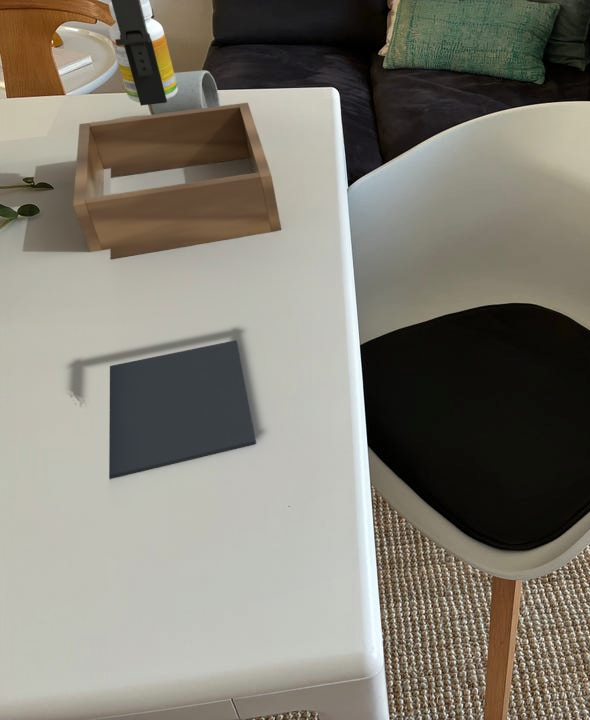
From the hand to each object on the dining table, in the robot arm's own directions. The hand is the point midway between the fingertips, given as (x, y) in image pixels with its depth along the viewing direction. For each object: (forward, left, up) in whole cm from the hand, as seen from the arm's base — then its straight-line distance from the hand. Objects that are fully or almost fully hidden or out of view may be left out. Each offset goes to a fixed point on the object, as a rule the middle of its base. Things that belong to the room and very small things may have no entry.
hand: (152, 91), depth 86 cm
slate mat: (+37, -4, -14) cm, 40 cm away
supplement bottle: (0, 0, -1) cm, 1 cm away
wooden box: (0, 0, -14) cm, 14 cm away
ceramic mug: (-21, +2, -14) cm, 25 cm away
